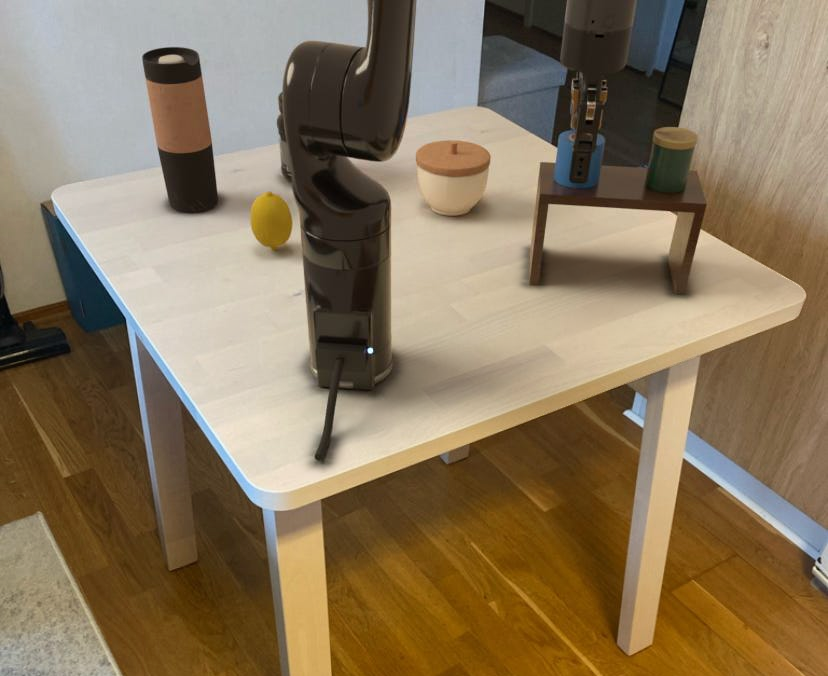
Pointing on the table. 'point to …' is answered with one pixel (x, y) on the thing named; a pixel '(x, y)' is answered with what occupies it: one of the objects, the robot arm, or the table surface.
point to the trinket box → (452, 175)
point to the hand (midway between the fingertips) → (577, 171)
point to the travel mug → (181, 127)
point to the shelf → (627, 193)
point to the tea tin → (670, 159)
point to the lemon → (271, 220)
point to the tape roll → (566, 156)
